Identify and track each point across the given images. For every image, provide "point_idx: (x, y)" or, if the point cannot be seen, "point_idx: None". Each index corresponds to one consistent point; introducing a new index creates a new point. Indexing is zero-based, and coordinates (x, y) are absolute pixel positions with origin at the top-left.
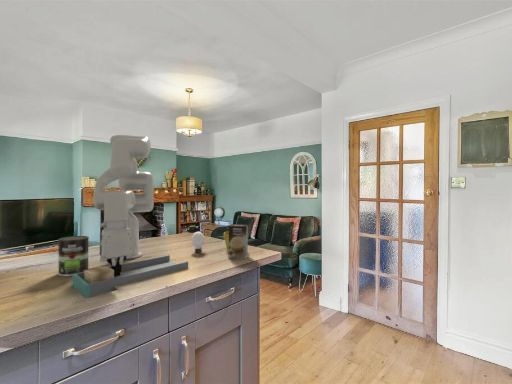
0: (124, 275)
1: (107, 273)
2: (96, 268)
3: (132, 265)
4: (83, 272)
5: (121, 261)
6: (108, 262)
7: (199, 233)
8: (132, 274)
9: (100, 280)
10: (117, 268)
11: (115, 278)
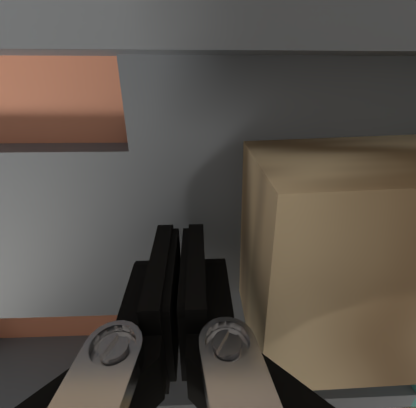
0: (108, 264)
1: (358, 178)
2: (369, 374)
3: (4, 387)
4: (370, 399)
5: (99, 367)
6: (319, 397)
7: None
8: (36, 3)
9: (401, 150)
10: (180, 279)
11: (305, 8)
